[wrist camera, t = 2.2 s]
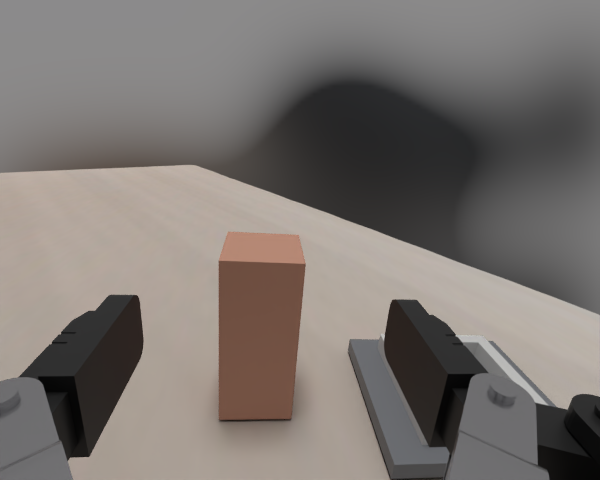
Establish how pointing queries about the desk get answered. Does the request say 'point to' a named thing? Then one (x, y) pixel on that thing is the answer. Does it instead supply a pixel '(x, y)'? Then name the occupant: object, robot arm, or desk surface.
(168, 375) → the desk surface
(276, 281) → the column
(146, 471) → the desk surface
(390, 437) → the baseplate
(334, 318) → the desk surface
